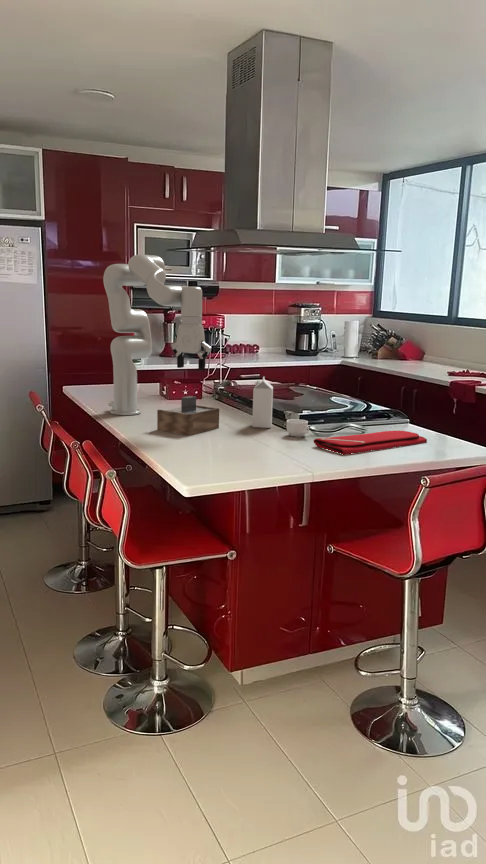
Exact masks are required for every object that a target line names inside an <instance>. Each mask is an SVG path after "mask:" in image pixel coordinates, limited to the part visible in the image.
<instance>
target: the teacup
mask: <svg viewBox="0 0 486 864" xmlns="http://www.w3.org/2000/svg"><path fill="white" fill-rule="evenodd" d="M308 424H309V421H308V420H305V419H300V418H299V419H297V418H296V419H295V418H291V419H287V420H286V432H287V434H288V435H289V436H290V435H291V437H293V436H295V437H294V438H302V437H304V436H305V435H306V434H308V433H309V431H310V427H309V425H308Z"/></svg>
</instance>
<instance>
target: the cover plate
mask: <svg viewBox="0 0 486 864" xmlns="http://www.w3.org/2000/svg"><path fill="white" fill-rule="evenodd" d="M196 405H197V396H195V395H194V396H193V395H188V396H182V397H181V406H180V407H175V408H171V409H165V410H166V411H173V412H179V413H186V414H193V413H197V412H202V411H207V410H211V409H206V408H199V407H196Z"/></svg>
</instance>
